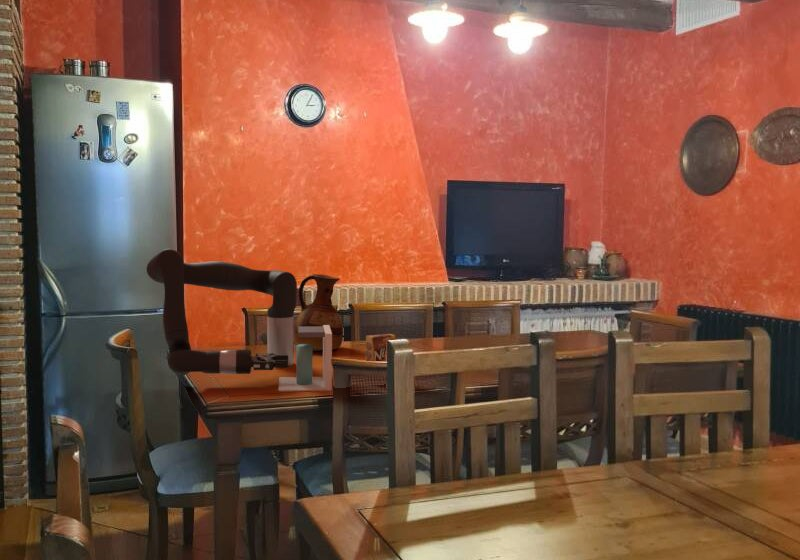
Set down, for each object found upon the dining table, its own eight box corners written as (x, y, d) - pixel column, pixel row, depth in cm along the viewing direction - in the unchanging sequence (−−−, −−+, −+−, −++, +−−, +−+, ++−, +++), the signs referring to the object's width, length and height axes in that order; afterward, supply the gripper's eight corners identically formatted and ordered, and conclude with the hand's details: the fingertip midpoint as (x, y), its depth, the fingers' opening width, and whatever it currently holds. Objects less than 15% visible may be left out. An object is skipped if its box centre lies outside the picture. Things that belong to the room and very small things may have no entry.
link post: (296, 381, 243) (296, 344, 242) (312, 381, 243) (312, 343, 242) (296, 385, 238) (296, 347, 237) (312, 384, 238) (312, 346, 237)
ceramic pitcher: (340, 354, 292) (341, 276, 289) (288, 353, 292) (288, 275, 289) (345, 345, 311) (345, 272, 309) (295, 344, 311) (296, 271, 309)
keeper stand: (279, 378, 248) (279, 325, 247) (328, 377, 251) (329, 324, 249) (278, 391, 231) (278, 334, 229) (331, 390, 233) (332, 333, 231)
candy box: (371, 384, 242) (371, 337, 240) (364, 382, 245) (364, 335, 244) (394, 381, 247) (395, 334, 245) (387, 379, 250) (388, 332, 249)
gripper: (233, 354, 230) (288, 353, 232) (237, 345, 244) (288, 345, 246) (233, 378, 230) (288, 377, 233) (237, 369, 244) (288, 368, 247)
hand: (288, 361), depth 239 cm, fingers open, 8 cm apart
